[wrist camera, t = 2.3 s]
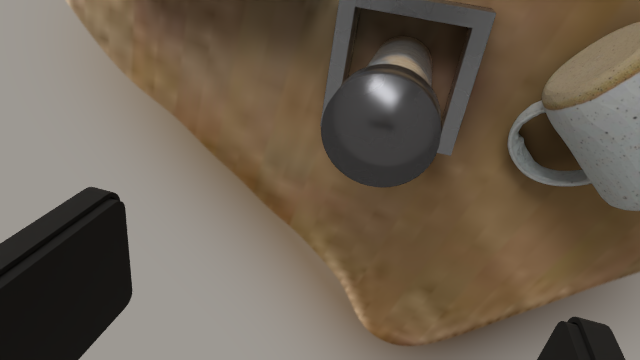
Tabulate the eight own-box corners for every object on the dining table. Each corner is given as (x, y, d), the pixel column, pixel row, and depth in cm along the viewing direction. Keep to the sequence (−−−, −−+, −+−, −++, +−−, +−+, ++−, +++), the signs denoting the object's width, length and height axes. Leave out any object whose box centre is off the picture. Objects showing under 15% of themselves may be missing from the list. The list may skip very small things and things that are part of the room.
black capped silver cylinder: (449, 35, 28) (456, 88, 17) (429, 109, 30) (423, 198, 19) (373, 21, 29) (330, 63, 17) (359, 94, 31) (313, 172, 20)
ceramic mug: (639, 0, 25) (709, 18, 18) (714, 107, 26) (804, 159, 20) (478, 114, 30) (486, 160, 23) (548, 198, 31) (575, 264, 25)
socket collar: (491, 8, 27) (496, 13, 24) (449, 141, 31) (450, 155, 29) (349, -17, 28) (341, -15, 26) (328, 114, 32) (320, 126, 30)
